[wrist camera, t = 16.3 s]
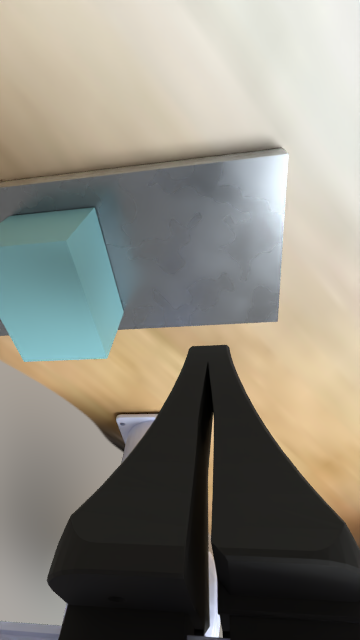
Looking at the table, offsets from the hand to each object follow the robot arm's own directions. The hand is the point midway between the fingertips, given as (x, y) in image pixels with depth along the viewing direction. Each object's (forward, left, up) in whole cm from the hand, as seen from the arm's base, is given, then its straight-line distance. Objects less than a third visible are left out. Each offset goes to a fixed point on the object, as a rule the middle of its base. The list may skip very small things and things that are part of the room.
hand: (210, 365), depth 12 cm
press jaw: (0, +9, -9) cm, 12 cm away
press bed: (0, +9, -10) cm, 14 cm away
